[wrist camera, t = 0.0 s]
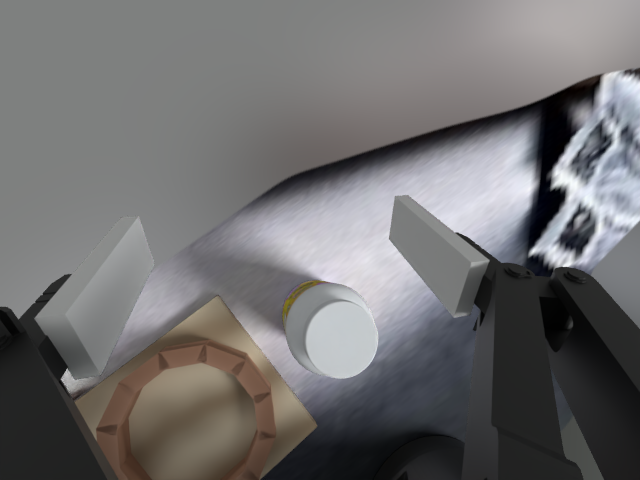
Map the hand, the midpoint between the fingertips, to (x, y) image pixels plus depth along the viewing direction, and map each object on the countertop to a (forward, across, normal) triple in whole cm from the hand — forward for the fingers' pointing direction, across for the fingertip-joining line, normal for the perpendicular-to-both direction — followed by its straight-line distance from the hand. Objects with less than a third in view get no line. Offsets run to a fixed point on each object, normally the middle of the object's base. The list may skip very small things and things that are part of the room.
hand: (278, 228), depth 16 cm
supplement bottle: (+8, -3, +15) cm, 17 cm away
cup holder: (+4, +9, +21) cm, 23 cm away
